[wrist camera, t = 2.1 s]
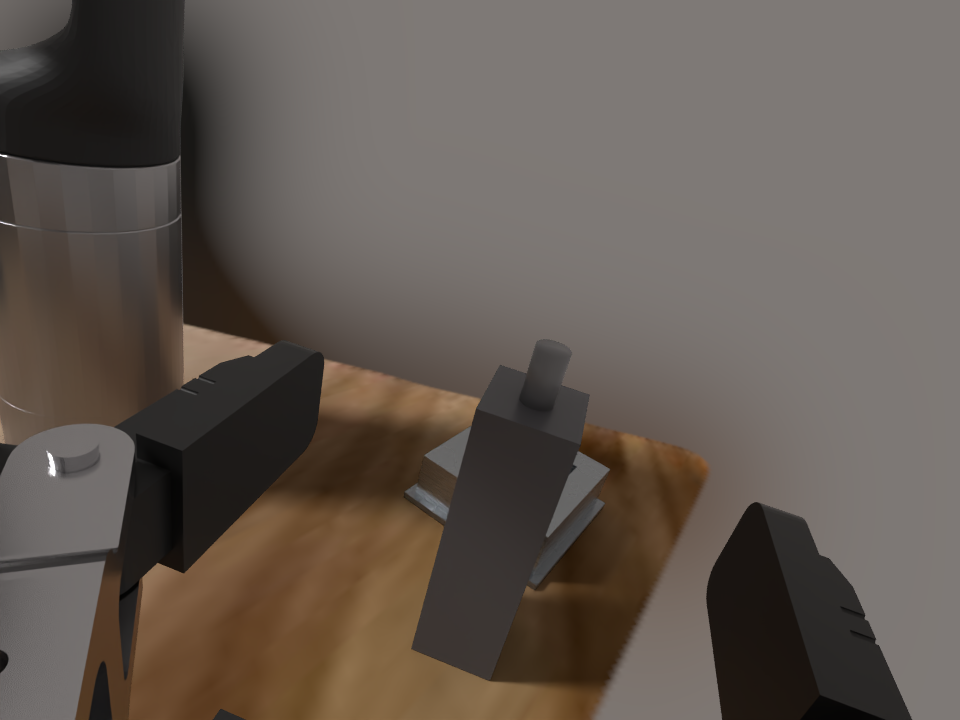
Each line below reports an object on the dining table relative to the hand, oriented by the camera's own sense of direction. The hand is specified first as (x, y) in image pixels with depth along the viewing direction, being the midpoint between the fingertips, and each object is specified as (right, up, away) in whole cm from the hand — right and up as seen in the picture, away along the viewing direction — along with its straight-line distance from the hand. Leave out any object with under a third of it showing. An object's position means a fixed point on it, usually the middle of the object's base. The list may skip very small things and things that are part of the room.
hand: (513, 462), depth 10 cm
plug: (-1, -12, +18) cm, 22 cm away
